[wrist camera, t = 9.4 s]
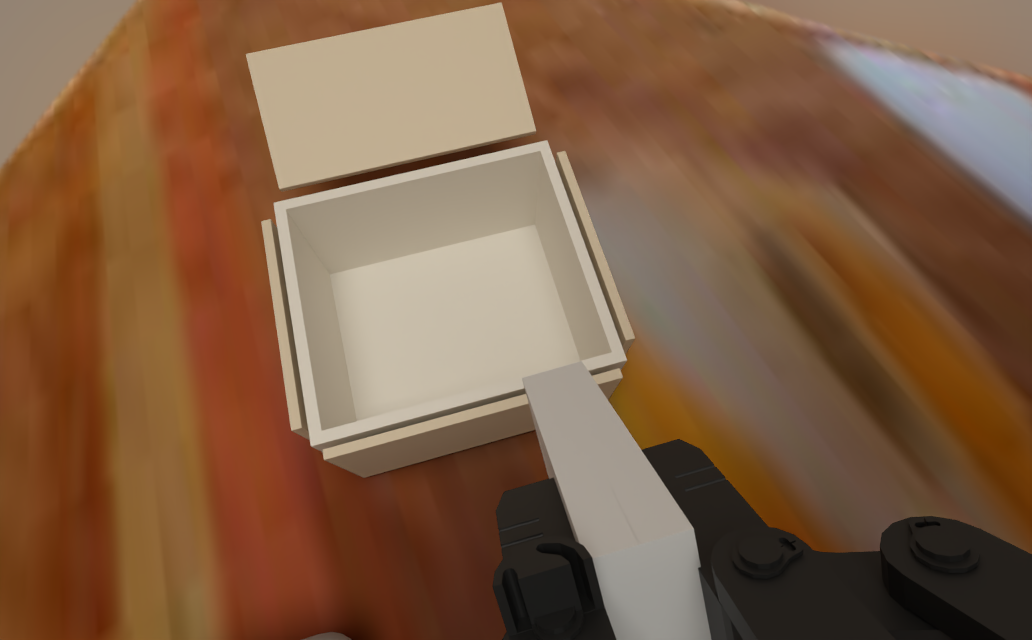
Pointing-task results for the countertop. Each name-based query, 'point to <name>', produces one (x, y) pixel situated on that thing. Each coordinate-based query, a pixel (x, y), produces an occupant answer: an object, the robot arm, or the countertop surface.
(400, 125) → the flap
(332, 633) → the donut
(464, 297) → the carton
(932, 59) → the countertop surface
